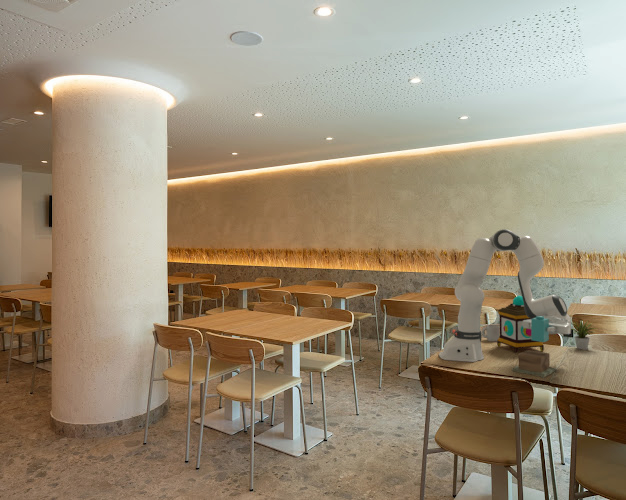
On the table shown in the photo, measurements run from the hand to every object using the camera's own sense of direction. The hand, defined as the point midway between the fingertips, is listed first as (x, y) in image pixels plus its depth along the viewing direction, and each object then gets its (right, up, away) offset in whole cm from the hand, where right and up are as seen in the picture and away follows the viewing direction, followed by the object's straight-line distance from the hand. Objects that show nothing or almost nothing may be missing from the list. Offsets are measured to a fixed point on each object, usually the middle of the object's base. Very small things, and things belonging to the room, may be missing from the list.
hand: (539, 328), depth 206 cm
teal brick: (+1, -5, +1) cm, 6 cm away
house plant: (+45, -19, +41) cm, 64 cm away
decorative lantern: (+12, -19, +44) cm, 50 cm away
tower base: (-1, -20, +4) cm, 21 cm away
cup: (+4, -19, +66) cm, 68 cm away
